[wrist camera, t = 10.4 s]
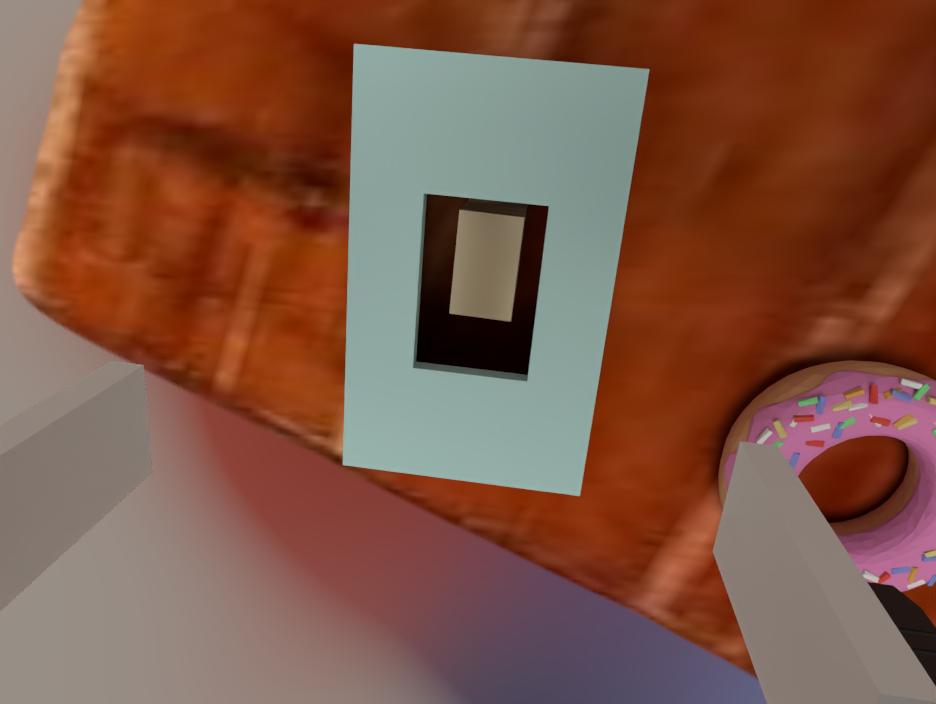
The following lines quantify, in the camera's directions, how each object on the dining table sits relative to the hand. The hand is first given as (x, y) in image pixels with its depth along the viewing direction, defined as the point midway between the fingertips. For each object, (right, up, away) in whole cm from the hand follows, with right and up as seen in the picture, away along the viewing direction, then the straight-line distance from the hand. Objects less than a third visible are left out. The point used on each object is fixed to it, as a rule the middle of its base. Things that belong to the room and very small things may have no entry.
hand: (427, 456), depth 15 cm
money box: (+2, +9, +24) cm, 25 cm away
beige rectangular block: (+3, +9, +24) cm, 25 cm away
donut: (+23, -4, +26) cm, 35 cm away
